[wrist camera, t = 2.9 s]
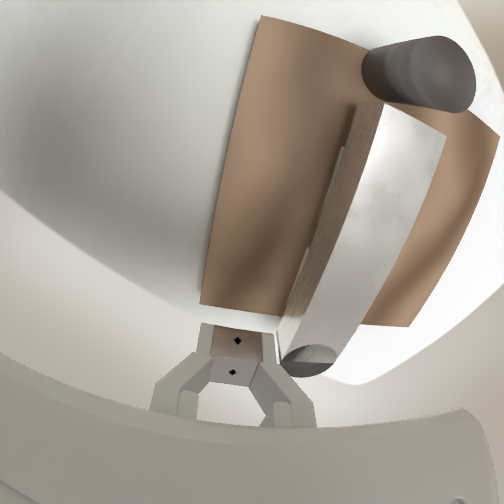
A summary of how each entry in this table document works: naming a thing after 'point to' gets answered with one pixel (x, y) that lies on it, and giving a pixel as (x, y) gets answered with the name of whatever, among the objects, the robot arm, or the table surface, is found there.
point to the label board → (337, 163)
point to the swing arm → (358, 234)
